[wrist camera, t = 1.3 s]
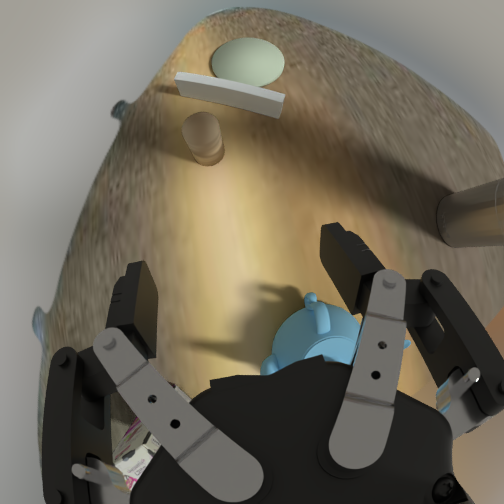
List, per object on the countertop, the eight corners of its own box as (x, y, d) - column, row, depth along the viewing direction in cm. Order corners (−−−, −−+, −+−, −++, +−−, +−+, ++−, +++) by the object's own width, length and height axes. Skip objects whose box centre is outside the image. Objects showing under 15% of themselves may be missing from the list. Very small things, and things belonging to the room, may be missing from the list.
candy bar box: (158, 436, 37) (126, 499, 21) (135, 417, 37) (94, 475, 21) (200, 403, 37) (177, 472, 21) (175, 382, 37) (139, 444, 21)
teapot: (304, 275, 38) (323, 282, 28) (382, 327, 38) (417, 345, 28) (246, 361, 38) (245, 394, 27) (327, 404, 38) (346, 440, 27)
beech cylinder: (220, 134, 38) (214, 107, 30) (228, 161, 38) (223, 138, 30) (190, 143, 38) (178, 118, 30) (197, 169, 38) (185, 149, 30)
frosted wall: (281, 111, 38) (285, 94, 33) (278, 119, 38) (282, 102, 33) (184, 88, 38) (178, 71, 33) (180, 96, 38) (173, 79, 33)
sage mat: (271, 35, 39) (271, 33, 38) (293, 81, 38) (294, 79, 38) (205, 47, 38) (205, 45, 38) (221, 96, 38) (220, 94, 38)
